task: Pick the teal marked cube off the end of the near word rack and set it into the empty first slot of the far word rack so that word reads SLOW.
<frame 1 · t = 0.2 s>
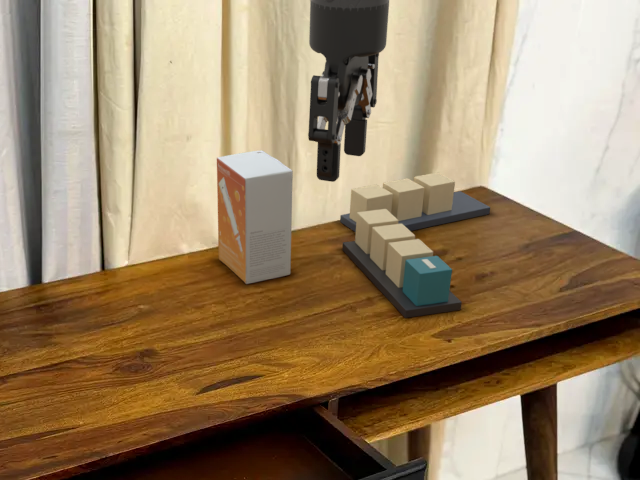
hand: (341, 166, 104), 16 cm above the table, tool pointing down, fingers open, 8 cm apart
far word: (415, 218, 135), on the table
near word: (398, 278, 120), on the table
small box: (254, 269, 123), on the table
teal marked cube: (424, 296, 114), point 1 cm above the table, touching near word
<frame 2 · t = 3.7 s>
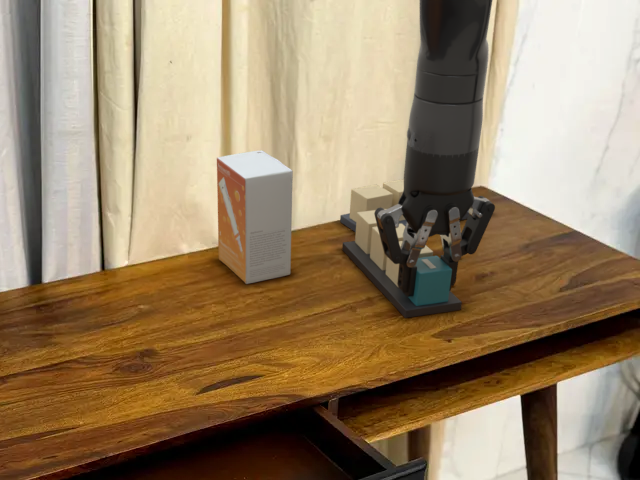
hand: (425, 290, 114), 2 cm above the table, tool pointing down, fingers closed on teal marked cube, 4 cm apart
teal marked cube: (424, 296, 114), point 1 cm above the table, touching gripper, near word
everything else where it was.
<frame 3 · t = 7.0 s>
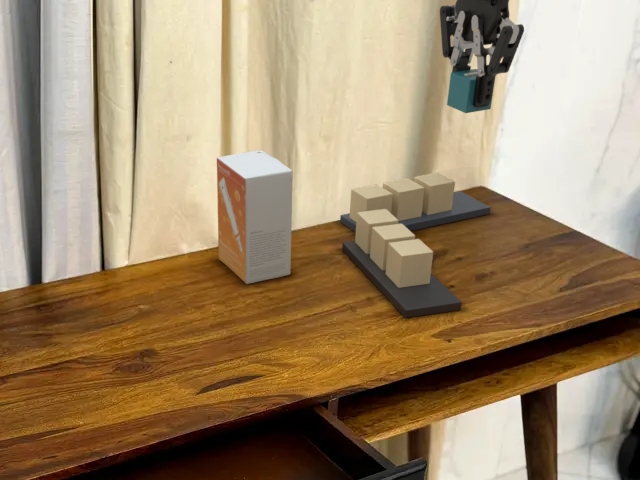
hand: (469, 101, 126), 15 cm above the table, tool pointing down, fingers closed on teal marked cube, 4 cm apart
teal marked cube: (468, 107, 126), point 15 cm above the table, touching gripper
everything else where it was.
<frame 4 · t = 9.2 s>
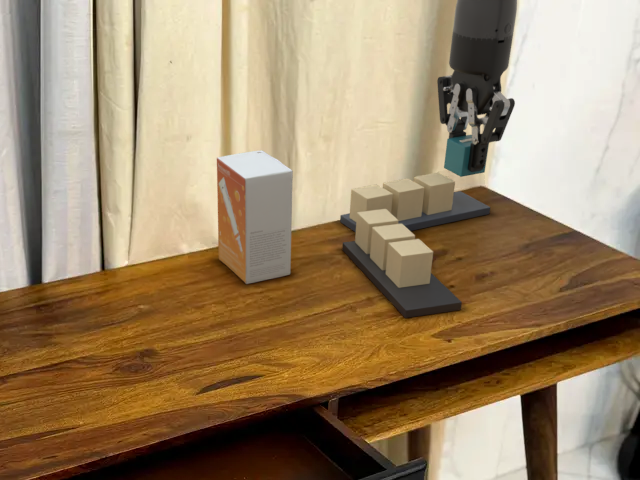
hand: (465, 164, 134), 6 cm above the table, tool pointing down, fingers closed on teal marked cube, 4 cm apart
teal marked cube: (464, 170, 135), point 5 cm above the table, touching gripper
everything else where it was.
when the fingers open (2 cm above the table, at t = 10.7 s): teal marked cube stays where it is, resting on far word.
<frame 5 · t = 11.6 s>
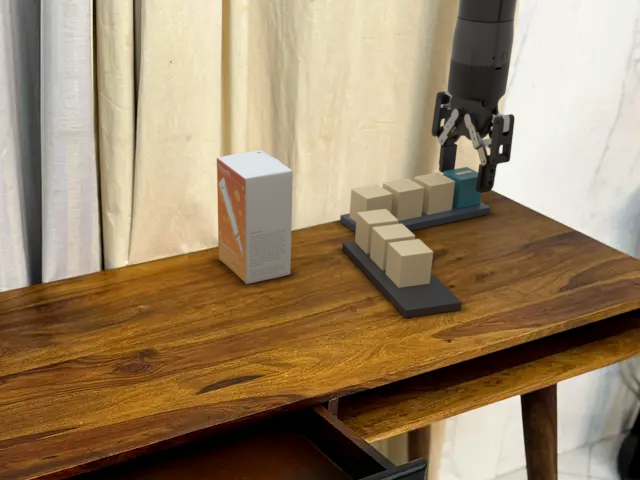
hand: (464, 181, 136), 4 cm above the table, tool pointing down, fingers open, 8 cm apart
teal marked cube: (460, 201, 138), point 1 cm above the table, touching far word
everything else where it was.
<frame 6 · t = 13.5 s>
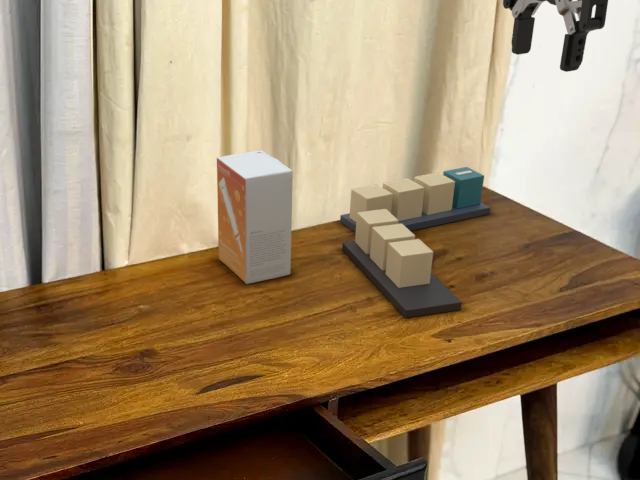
hand: (544, 61, 111), 23 cm above the table, tool pointing down, fingers open, 8 cm apart
nothing on the table moved.
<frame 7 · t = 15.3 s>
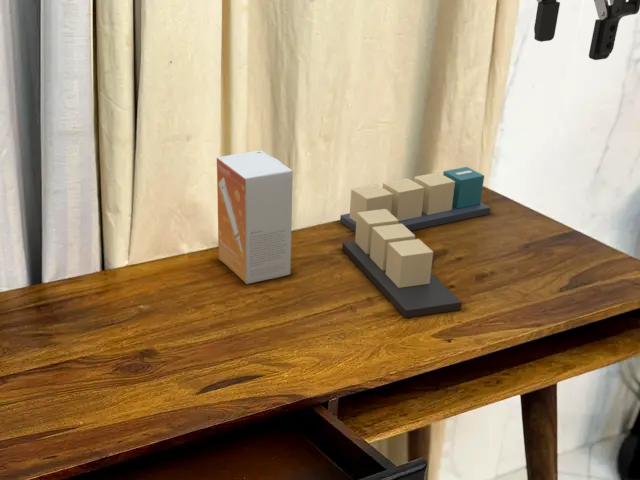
hand: (570, 49, 104), 26 cm above the table, tool pointing down, fingers open, 8 cm apart
nothing on the table moved.
at the end: teal marked cube 0.1 cm from the target spot on the far word, point 1.0 cm above the far word's base; teal marked cube tilted 0°; the gripper is holding nothing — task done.
